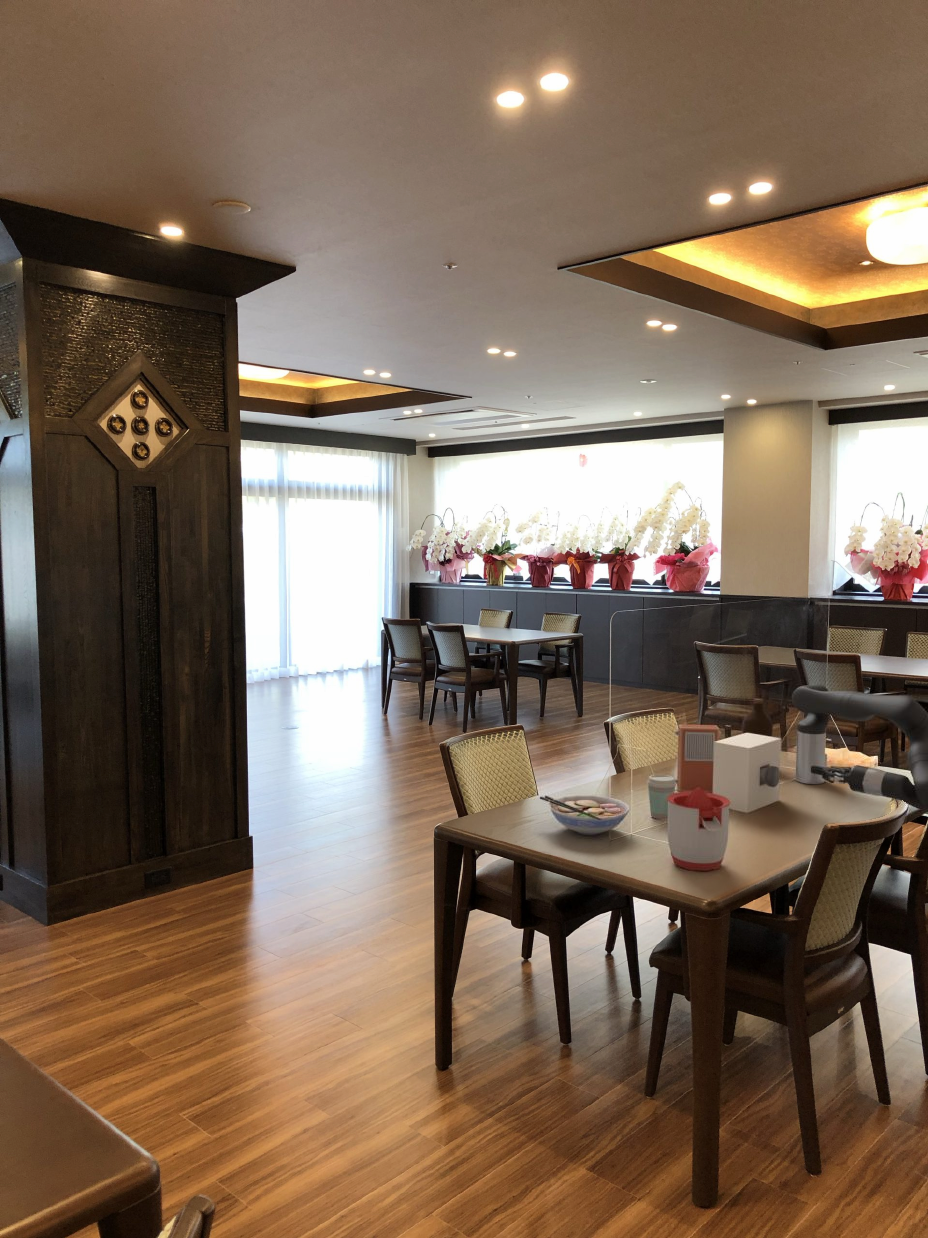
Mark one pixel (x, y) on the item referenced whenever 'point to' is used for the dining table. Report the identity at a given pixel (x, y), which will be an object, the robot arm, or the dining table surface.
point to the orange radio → (696, 756)
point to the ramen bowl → (588, 812)
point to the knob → (770, 775)
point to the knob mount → (745, 770)
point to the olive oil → (757, 721)
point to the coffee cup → (660, 794)
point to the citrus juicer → (697, 829)
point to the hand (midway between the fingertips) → (811, 769)
